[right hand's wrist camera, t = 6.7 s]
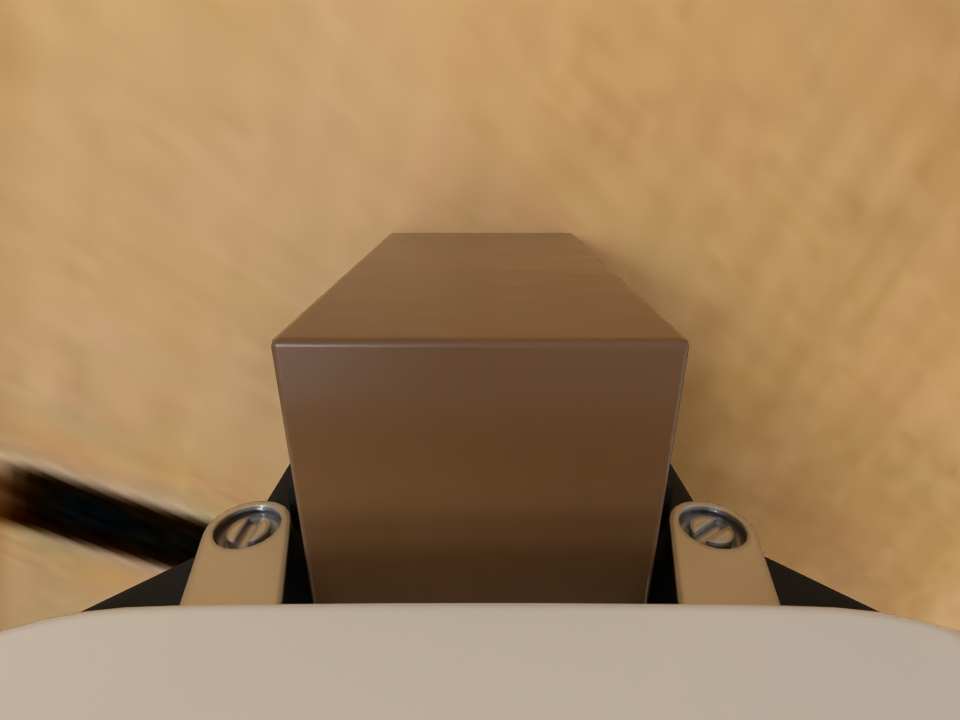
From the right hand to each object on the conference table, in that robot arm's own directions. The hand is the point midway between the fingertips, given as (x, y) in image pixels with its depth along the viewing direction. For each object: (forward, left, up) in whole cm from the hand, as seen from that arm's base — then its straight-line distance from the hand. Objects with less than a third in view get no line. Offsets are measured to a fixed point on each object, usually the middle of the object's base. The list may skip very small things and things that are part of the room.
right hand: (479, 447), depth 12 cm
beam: (+29, 0, -3) cm, 29 cm away
